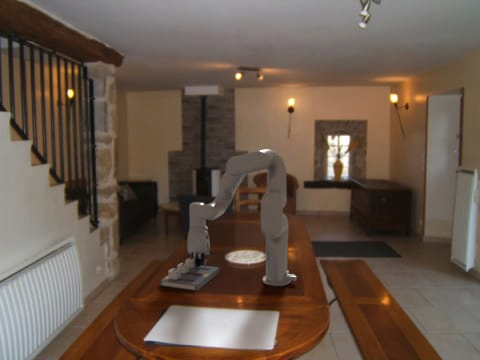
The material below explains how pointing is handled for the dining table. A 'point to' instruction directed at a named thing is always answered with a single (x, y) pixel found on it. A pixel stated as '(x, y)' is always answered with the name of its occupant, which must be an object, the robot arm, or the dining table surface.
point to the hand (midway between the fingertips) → (198, 265)
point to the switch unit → (192, 278)
